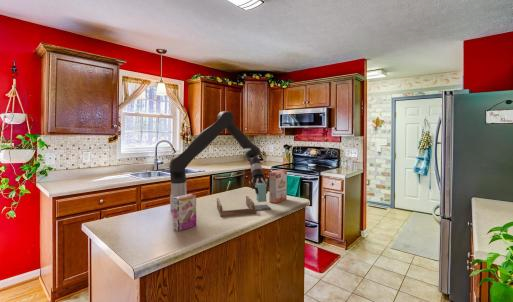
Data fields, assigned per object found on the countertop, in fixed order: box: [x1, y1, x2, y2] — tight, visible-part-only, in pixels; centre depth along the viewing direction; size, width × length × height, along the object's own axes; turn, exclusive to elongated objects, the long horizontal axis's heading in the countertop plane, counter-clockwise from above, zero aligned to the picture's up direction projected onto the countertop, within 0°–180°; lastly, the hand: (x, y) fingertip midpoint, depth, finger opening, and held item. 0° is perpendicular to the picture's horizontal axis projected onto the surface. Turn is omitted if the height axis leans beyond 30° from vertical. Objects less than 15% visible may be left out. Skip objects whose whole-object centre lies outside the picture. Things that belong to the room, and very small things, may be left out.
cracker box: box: [268, 169, 288, 204], centre depth 185 cm, size 14×6×21 cm, turn 143°
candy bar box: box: [172, 193, 197, 232], centre depth 135 cm, size 11×5×16 cm, turn 141°
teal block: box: [256, 182, 267, 203], centre depth 169 cm, size 5×5×11 cm
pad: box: [254, 203, 272, 212], centre depth 169 cm, size 10×10×1 cm
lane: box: [216, 195, 256, 218], centre depth 164 cm, size 19×20×6 cm
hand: (262, 193), depth 167 cm, fingers closed on teal block, 5 cm apart
